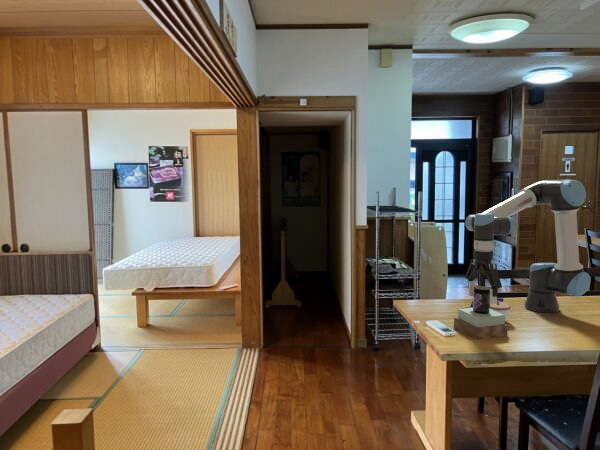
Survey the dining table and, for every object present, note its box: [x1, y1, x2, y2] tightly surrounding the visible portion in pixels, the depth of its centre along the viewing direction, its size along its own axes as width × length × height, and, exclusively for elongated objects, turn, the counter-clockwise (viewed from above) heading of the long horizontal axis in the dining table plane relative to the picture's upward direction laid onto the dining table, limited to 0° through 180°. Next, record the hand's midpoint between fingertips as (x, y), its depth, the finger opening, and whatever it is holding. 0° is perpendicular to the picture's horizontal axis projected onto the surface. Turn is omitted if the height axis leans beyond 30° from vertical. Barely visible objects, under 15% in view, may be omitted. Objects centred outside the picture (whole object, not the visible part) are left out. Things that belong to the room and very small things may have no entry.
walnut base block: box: [453, 316, 509, 340], centre depth 183 cm, size 15×15×5 cm
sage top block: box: [457, 307, 506, 327], centre depth 182 cm, size 13×13×4 cm
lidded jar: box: [490, 301, 512, 321], centre depth 196 cm, size 11×11×9 cm
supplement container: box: [472, 285, 491, 314], centre depth 181 cm, size 7×7×10 cm
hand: (482, 299), depth 182 cm, fingers open, 13 cm apart
